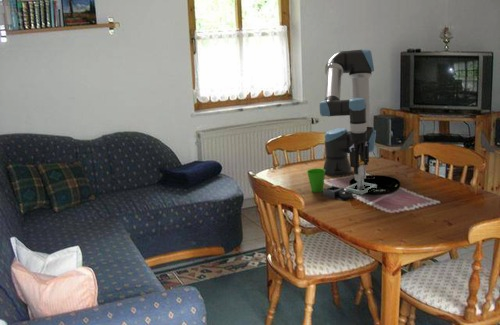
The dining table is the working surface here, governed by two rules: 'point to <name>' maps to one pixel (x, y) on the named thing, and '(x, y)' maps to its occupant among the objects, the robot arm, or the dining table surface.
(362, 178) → the pin
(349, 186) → the tray
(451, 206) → the dining table surface
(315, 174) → the cup
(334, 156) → the robot arm
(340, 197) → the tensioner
